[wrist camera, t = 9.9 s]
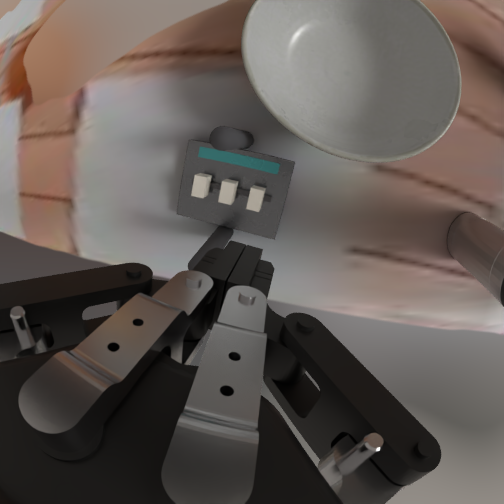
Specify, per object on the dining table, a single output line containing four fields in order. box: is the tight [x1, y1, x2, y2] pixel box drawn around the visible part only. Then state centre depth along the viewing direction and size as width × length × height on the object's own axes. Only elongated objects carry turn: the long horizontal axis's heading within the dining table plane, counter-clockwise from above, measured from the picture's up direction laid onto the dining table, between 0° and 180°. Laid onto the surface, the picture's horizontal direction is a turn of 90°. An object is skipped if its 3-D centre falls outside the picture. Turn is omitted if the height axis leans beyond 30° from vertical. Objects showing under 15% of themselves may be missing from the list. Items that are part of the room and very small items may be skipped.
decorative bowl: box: [241, 0, 461, 163], centre depth 27 cm, size 27×27×12 cm
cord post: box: [188, 225, 233, 270], centre depth 39 cm, size 3×3×14 cm
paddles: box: [191, 173, 266, 212], centre depth 38 cm, size 10×3×2 cm, turn 77°
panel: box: [177, 140, 295, 240], centre depth 41 cm, size 16×12×3 cm
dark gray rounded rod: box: [210, 126, 254, 151], centre depth 33 cm, size 3×3×14 cm
